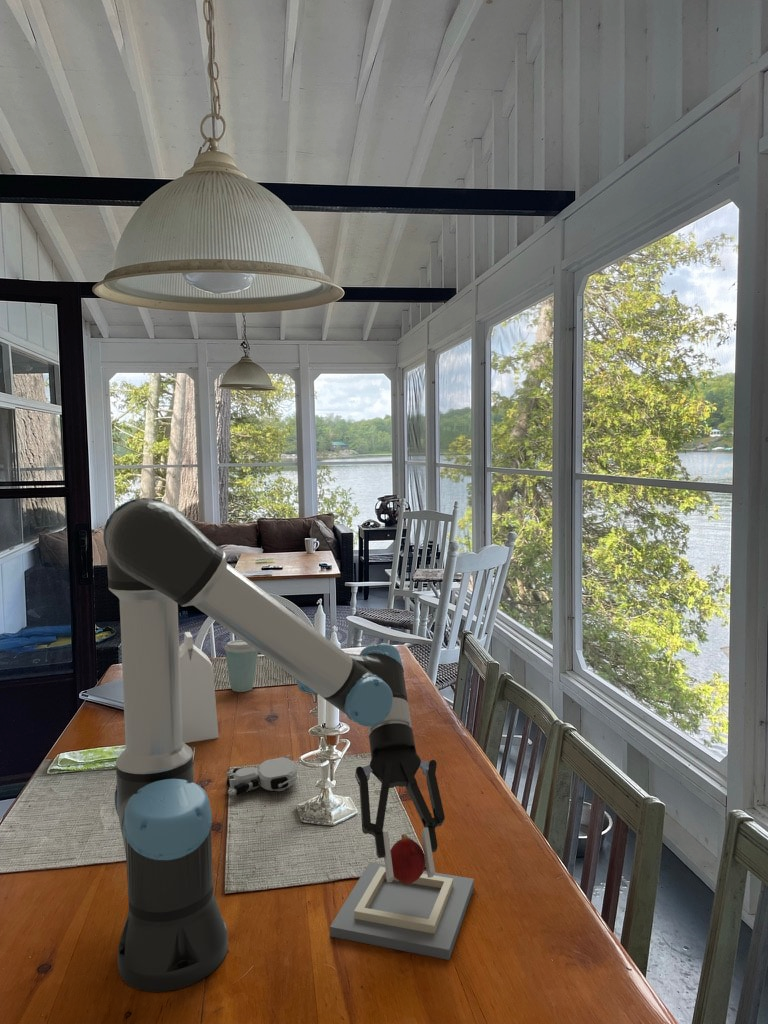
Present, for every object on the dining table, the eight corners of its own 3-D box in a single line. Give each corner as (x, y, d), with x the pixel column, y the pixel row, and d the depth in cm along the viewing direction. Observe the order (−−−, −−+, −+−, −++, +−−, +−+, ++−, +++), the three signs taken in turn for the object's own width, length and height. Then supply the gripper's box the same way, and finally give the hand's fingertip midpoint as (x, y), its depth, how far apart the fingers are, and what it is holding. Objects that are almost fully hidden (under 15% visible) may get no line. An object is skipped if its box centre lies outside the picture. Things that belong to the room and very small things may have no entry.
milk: (218, 737, 187) (214, 637, 185) (171, 745, 182) (167, 642, 180) (211, 722, 198) (207, 627, 196) (167, 728, 193) (163, 631, 192)
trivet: (449, 960, 103) (448, 941, 102) (330, 936, 108) (329, 918, 108) (473, 887, 120) (473, 871, 120) (369, 870, 125) (369, 855, 125)
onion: (423, 872, 117) (423, 824, 116) (427, 894, 111) (426, 843, 110) (387, 874, 117) (386, 825, 116) (389, 896, 111) (387, 845, 110)
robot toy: (228, 809, 150) (301, 794, 154) (226, 787, 150) (299, 773, 153) (227, 783, 162) (294, 770, 166) (224, 763, 162) (292, 751, 165)
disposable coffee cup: (224, 685, 229) (222, 638, 228) (258, 681, 232) (257, 635, 231) (227, 696, 219) (225, 646, 218) (263, 692, 222) (261, 643, 221)
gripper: (440, 735, 129) (466, 877, 114) (335, 744, 126) (348, 891, 111) (447, 716, 123) (475, 863, 109) (336, 725, 121) (350, 877, 106)
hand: (411, 877), depth 110 cm, fingers closed on onion, 6 cm apart
